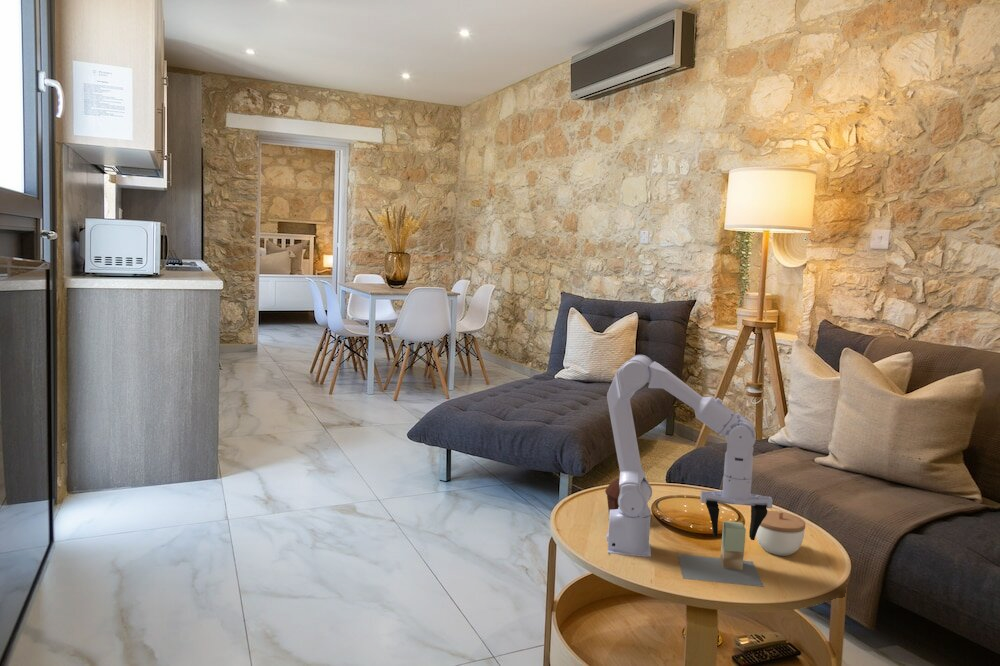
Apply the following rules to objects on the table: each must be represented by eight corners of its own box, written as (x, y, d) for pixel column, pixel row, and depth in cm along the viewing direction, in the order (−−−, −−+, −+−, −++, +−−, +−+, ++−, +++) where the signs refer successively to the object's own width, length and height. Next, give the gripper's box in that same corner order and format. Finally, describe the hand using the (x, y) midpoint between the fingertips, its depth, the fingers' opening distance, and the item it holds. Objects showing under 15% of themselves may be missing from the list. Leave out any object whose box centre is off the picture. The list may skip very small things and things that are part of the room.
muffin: (599, 509, 183) (601, 472, 182) (640, 508, 184) (642, 472, 183) (611, 526, 171) (613, 487, 170) (655, 526, 172) (657, 487, 171)
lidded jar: (772, 563, 153) (775, 522, 152) (743, 543, 163) (746, 505, 162) (813, 559, 156) (816, 519, 155) (782, 540, 166) (785, 502, 165)
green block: (724, 550, 148) (726, 527, 148) (721, 542, 152) (723, 520, 152) (744, 552, 148) (745, 529, 147) (740, 544, 152) (742, 522, 151)
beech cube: (723, 568, 149) (724, 550, 148) (720, 560, 153) (721, 542, 152) (742, 569, 148) (743, 552, 148) (739, 562, 152) (740, 544, 152)
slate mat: (683, 580, 143) (683, 578, 143) (677, 555, 155) (677, 554, 155) (763, 588, 141) (764, 586, 141) (752, 563, 153) (752, 561, 153)
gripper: (705, 478, 146) (700, 540, 147) (777, 484, 143) (772, 547, 145) (700, 468, 152) (697, 528, 154) (770, 473, 150) (765, 534, 152)
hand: (733, 536), depth 150 cm, fingers open, 7 cm apart
